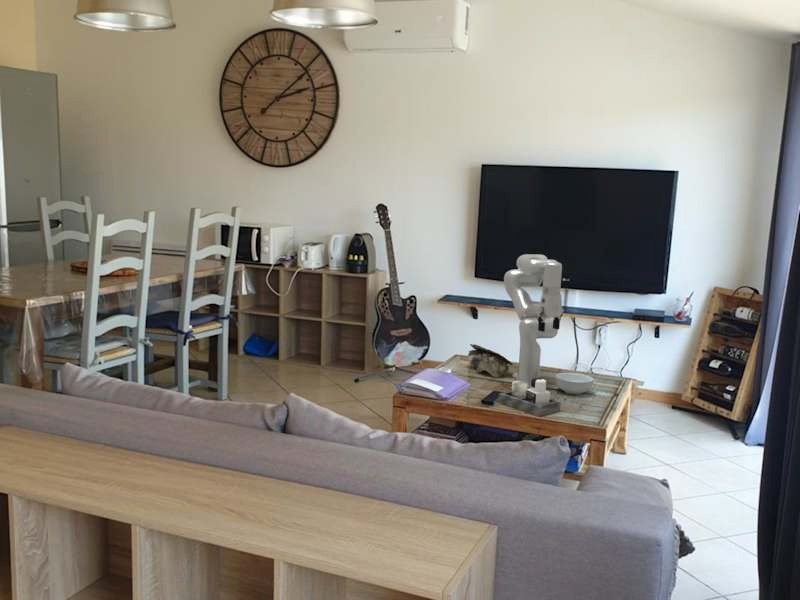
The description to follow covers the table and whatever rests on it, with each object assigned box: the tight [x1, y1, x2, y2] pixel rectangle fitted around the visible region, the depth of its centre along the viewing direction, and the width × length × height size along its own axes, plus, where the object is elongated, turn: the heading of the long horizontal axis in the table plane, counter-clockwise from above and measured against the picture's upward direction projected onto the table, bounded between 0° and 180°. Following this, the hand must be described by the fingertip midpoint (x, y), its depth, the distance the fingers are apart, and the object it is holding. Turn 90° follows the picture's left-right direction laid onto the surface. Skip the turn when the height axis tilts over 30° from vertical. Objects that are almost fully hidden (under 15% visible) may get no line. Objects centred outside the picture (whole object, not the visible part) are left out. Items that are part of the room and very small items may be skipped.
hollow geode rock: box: [467, 343, 514, 379], centre depth 391 cm, size 28×13×15 cm
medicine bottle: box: [526, 377, 551, 405], centre depth 332 cm, size 7×7×12 cm
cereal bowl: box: [554, 372, 594, 395], centre depth 361 cm, size 17×17×7 cm
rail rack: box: [498, 380, 562, 417], centre depth 336 cm, size 22×13×9 cm, turn 40°
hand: (548, 330), depth 346 cm, fingers open, 9 cm apart
